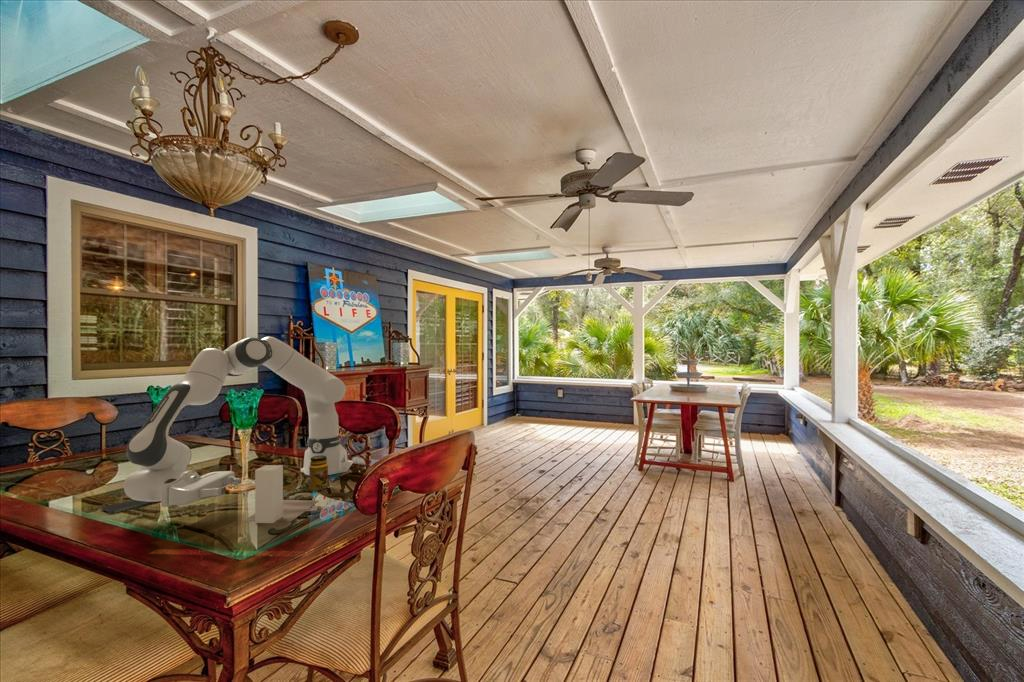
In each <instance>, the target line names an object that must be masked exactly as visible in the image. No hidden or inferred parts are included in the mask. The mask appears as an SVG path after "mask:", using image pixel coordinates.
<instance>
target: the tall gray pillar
mask: <svg viewBox="0 0 1024 682" xmlns="http://www.w3.org/2000/svg"><path fill="white" fill-rule="evenodd" d="M254 477H255V478H254V491H255V493H254V502H255V503H254V504H255V506H254V508H255V509H254V512H255V513H254V514H255V522H254V523H255V524H274V523H277V522H276V521H277V520H279V519H280V518H281V517H283V500H284V465H282V464H281V465H280V464H279V465H275V464H271V465H270V464H269V465H268V464H265V465H263V466H261V467H259V468H257V469H255V471H254Z"/></svg>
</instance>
